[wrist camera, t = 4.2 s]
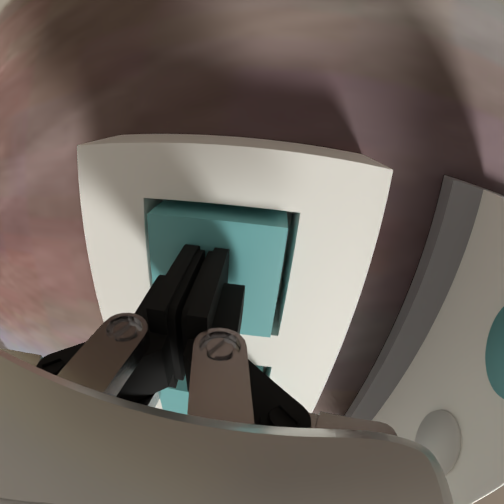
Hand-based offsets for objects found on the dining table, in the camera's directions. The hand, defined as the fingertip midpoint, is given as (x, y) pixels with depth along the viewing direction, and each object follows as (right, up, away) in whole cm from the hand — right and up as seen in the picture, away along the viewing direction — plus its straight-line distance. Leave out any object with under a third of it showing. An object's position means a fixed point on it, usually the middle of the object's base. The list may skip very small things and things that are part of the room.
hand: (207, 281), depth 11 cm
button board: (0, -5, +8) cm, 9 cm away
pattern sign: (+14, -7, +7) cm, 17 cm away
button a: (0, +2, +3) cm, 3 cm away
